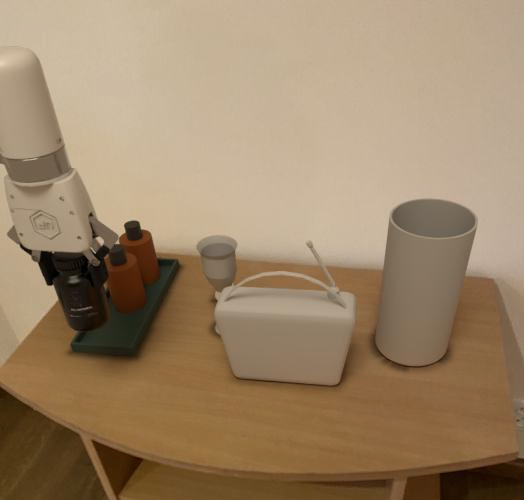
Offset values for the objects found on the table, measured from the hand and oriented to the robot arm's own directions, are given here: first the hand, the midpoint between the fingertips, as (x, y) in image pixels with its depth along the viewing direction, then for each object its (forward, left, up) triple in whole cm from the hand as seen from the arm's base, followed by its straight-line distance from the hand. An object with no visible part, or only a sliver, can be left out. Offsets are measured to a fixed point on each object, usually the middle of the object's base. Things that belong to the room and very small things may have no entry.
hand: (77, 281), depth 75 cm
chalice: (+9, +22, -21) cm, 32 cm away
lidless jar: (+3, +30, -21) cm, 37 cm away
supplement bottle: (0, 0, -7) cm, 7 cm away
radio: (+25, +18, -21) cm, 37 cm away
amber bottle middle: (-13, +18, -21) cm, 30 cm away
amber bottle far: (-17, +27, -21) cm, 38 cm away
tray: (-13, +18, -21) cm, 31 cm away
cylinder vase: (+41, +34, -21) cm, 57 cm away
